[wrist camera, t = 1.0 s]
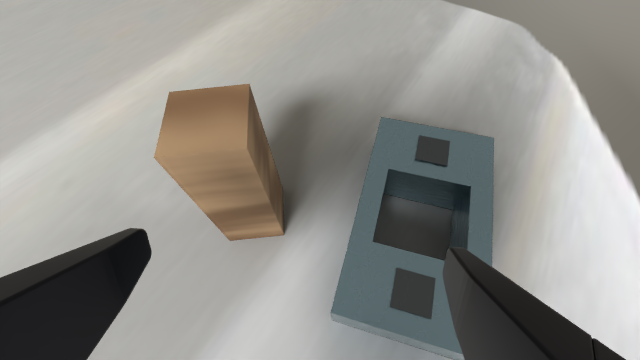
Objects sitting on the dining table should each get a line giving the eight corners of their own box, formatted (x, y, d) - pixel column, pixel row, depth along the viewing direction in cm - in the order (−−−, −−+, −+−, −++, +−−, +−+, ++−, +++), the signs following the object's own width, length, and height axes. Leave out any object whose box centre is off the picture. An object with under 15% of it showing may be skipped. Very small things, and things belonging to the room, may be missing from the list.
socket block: (463, 362, 20) (491, 363, 16) (331, 320, 21) (330, 312, 18) (474, 165, 27) (494, 136, 24) (376, 145, 29) (381, 115, 25)
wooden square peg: (283, 234, 25) (246, 148, 15) (229, 240, 25) (154, 157, 15) (282, 187, 27) (249, 83, 17) (232, 193, 27) (169, 92, 17)
